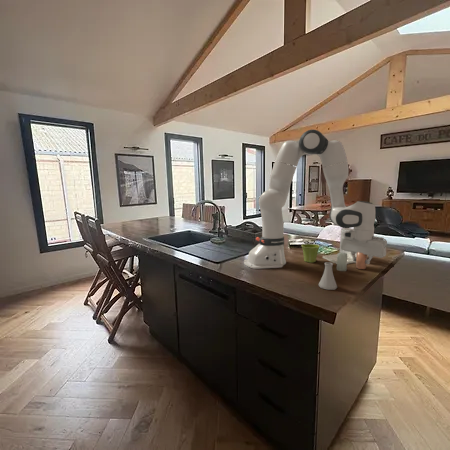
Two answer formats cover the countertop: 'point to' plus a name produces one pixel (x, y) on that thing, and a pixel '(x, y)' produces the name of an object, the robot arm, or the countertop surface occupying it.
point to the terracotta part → (361, 261)
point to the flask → (328, 278)
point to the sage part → (342, 261)
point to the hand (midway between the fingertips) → (361, 262)
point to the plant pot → (310, 252)
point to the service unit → (341, 251)
